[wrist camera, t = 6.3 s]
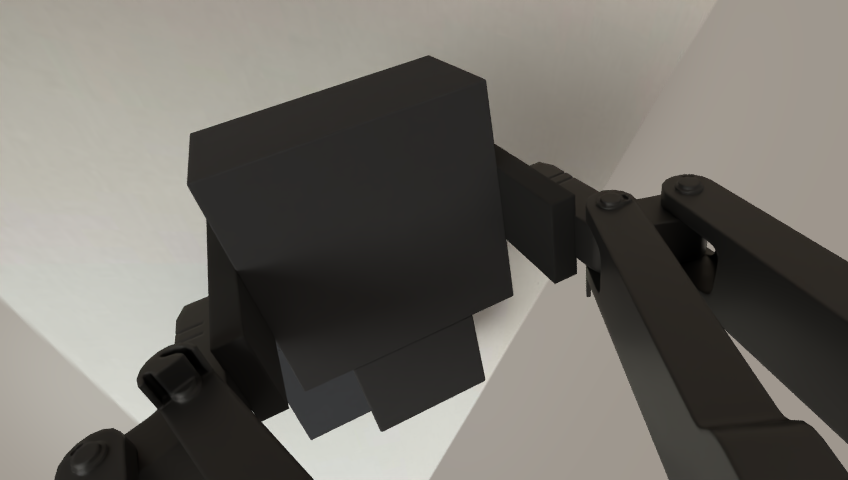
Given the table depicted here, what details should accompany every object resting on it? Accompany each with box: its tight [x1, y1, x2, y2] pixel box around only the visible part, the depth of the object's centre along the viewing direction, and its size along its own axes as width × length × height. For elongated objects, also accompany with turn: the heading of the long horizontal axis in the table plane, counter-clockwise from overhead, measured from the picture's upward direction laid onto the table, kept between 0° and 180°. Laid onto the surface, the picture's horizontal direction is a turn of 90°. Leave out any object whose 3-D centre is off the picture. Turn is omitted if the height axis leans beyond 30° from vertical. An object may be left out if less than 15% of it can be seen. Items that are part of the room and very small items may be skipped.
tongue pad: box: [187, 55, 513, 432], centre depth 17 cm, size 12×8×4 cm
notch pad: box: [275, 340, 371, 440], centre depth 29 cm, size 12×12×4 cm
